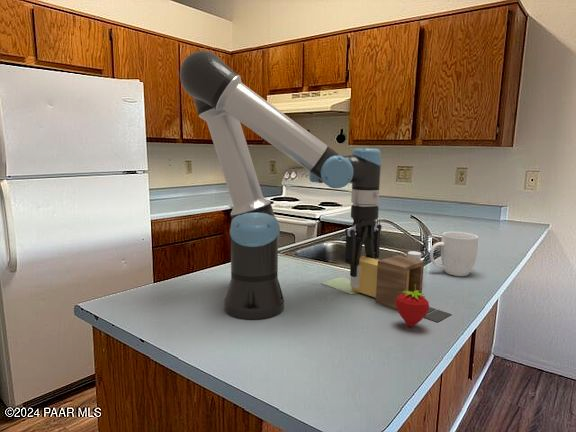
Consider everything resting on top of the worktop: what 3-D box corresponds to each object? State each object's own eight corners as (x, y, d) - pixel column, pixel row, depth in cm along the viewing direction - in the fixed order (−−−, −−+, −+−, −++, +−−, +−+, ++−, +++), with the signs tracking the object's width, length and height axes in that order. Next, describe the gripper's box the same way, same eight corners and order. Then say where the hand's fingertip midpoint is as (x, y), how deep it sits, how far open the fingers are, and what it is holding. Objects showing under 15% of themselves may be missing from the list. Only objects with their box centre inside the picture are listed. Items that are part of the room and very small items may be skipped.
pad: (352, 294, 112) (352, 293, 112) (320, 283, 121) (320, 282, 121) (371, 287, 118) (371, 286, 118) (340, 277, 127) (340, 277, 127)
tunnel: (402, 312, 100) (404, 267, 98) (375, 302, 106) (377, 260, 104) (421, 303, 106) (424, 261, 104) (395, 295, 112) (397, 255, 110)
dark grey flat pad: (437, 322, 94) (437, 321, 94) (407, 312, 100) (407, 311, 100) (451, 314, 99) (451, 314, 99) (421, 305, 105) (421, 304, 105)
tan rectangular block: (396, 304, 103) (399, 271, 102) (351, 289, 114) (352, 259, 113) (407, 300, 107) (409, 267, 105) (362, 285, 118) (363, 256, 116)
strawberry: (397, 318, 96) (400, 278, 95) (430, 325, 93) (433, 284, 91) (390, 327, 91) (392, 285, 90) (424, 335, 88) (427, 291, 86)
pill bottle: (409, 279, 125) (411, 249, 124) (425, 284, 122) (427, 252, 120) (400, 283, 122) (402, 252, 120) (416, 288, 118) (418, 256, 116)
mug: (435, 278, 127) (438, 238, 125) (422, 268, 138) (425, 231, 136) (481, 278, 127) (485, 238, 125) (465, 268, 138) (468, 231, 136)
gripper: (354, 209, 102) (351, 295, 106) (395, 203, 114) (390, 281, 118) (332, 205, 108) (330, 288, 112) (373, 200, 120) (370, 275, 123)
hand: (361, 284), depth 115 cm, fingers closed on tan rectangular block, 5 cm apart
